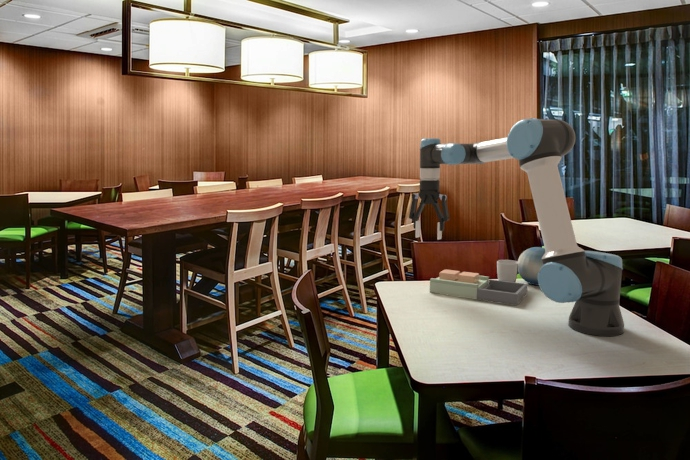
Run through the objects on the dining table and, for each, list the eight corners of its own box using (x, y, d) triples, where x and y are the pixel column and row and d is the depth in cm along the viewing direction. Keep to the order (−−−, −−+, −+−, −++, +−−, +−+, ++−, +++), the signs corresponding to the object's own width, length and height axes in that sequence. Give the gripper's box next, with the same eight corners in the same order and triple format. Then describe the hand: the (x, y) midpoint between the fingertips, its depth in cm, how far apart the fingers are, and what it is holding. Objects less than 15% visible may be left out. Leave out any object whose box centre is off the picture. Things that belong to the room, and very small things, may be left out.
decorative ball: (553, 291, 197) (555, 252, 195) (512, 286, 205) (514, 248, 202) (558, 282, 210) (561, 245, 208) (520, 277, 217) (522, 242, 215)
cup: (520, 289, 199) (521, 264, 198) (499, 289, 200) (500, 264, 198) (513, 284, 207) (515, 259, 206) (493, 284, 208) (494, 259, 206)
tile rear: (454, 282, 195) (454, 274, 195) (439, 280, 198) (439, 272, 198) (459, 278, 200) (459, 271, 200) (444, 276, 204) (445, 269, 203)
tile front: (473, 284, 192) (474, 276, 191) (458, 282, 195) (458, 274, 194) (478, 281, 197) (479, 273, 196) (463, 279, 200) (463, 271, 199)
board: (476, 299, 187) (477, 285, 186) (429, 292, 196) (429, 278, 196) (488, 289, 200) (488, 276, 199) (443, 283, 209) (444, 270, 208)
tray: (516, 305, 179) (517, 294, 179) (476, 299, 187) (477, 288, 186) (526, 294, 193) (527, 283, 192) (489, 289, 200) (489, 279, 199)
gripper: (459, 179, 196) (457, 239, 200) (408, 178, 207) (407, 234, 210) (452, 180, 190) (451, 242, 193) (400, 179, 201) (399, 237, 204)
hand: (428, 238), depth 202 cm, fingers open, 8 cm apart
